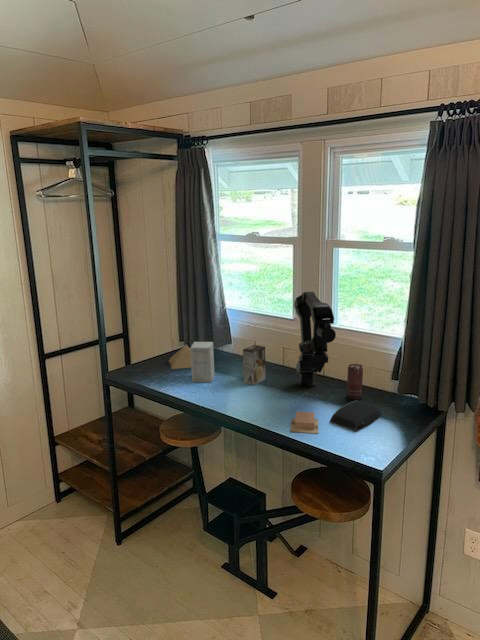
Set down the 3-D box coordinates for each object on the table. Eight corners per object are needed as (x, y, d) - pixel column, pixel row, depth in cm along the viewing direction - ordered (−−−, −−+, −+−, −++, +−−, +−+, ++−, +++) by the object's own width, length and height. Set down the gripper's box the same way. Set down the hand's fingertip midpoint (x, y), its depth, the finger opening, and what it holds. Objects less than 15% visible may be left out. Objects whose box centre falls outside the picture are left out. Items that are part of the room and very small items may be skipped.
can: (351, 401, 205) (352, 369, 201) (344, 395, 210) (345, 364, 207) (364, 399, 206) (366, 367, 202) (357, 393, 212) (358, 362, 208)
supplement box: (214, 375, 235) (214, 341, 231) (211, 382, 226) (210, 347, 222) (195, 374, 236) (193, 341, 232) (191, 382, 227) (189, 347, 223)
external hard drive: (327, 422, 187) (327, 412, 186) (354, 406, 201) (354, 397, 200) (357, 433, 178) (358, 423, 177) (383, 416, 192) (384, 406, 191)
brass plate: (291, 418, 190) (291, 417, 190) (318, 420, 188) (318, 419, 188) (290, 432, 179) (290, 431, 179) (318, 433, 178) (318, 432, 178)
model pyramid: (168, 359, 260) (167, 341, 257) (200, 356, 263) (200, 338, 260) (169, 370, 244) (168, 350, 241) (204, 367, 247) (203, 348, 244)
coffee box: (254, 376, 233) (254, 344, 229) (265, 379, 229) (265, 346, 225) (243, 382, 226) (242, 349, 222) (254, 385, 222) (254, 351, 218)
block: (296, 411, 189) (295, 422, 181) (314, 412, 188) (314, 423, 180) (296, 417, 190) (295, 428, 181) (314, 418, 189) (314, 429, 180)
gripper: (300, 328, 207) (300, 363, 211) (299, 341, 190) (298, 379, 194) (327, 329, 206) (326, 364, 210) (328, 342, 188) (327, 380, 192)
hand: (319, 371), depth 201 cm, fingers closed
